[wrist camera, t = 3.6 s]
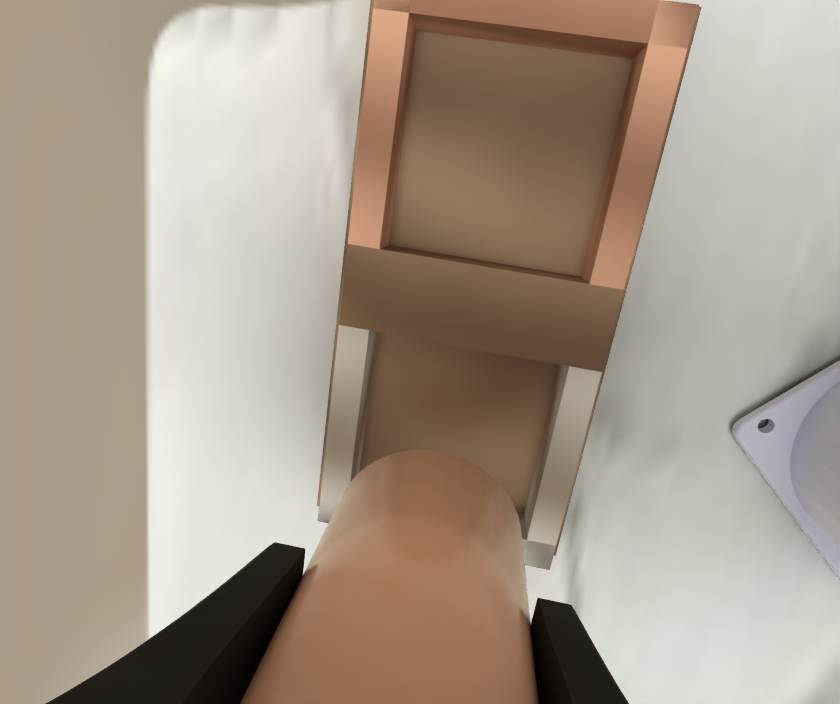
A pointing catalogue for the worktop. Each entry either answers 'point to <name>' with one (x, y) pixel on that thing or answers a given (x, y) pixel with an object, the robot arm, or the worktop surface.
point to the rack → (495, 234)
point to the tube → (409, 595)
